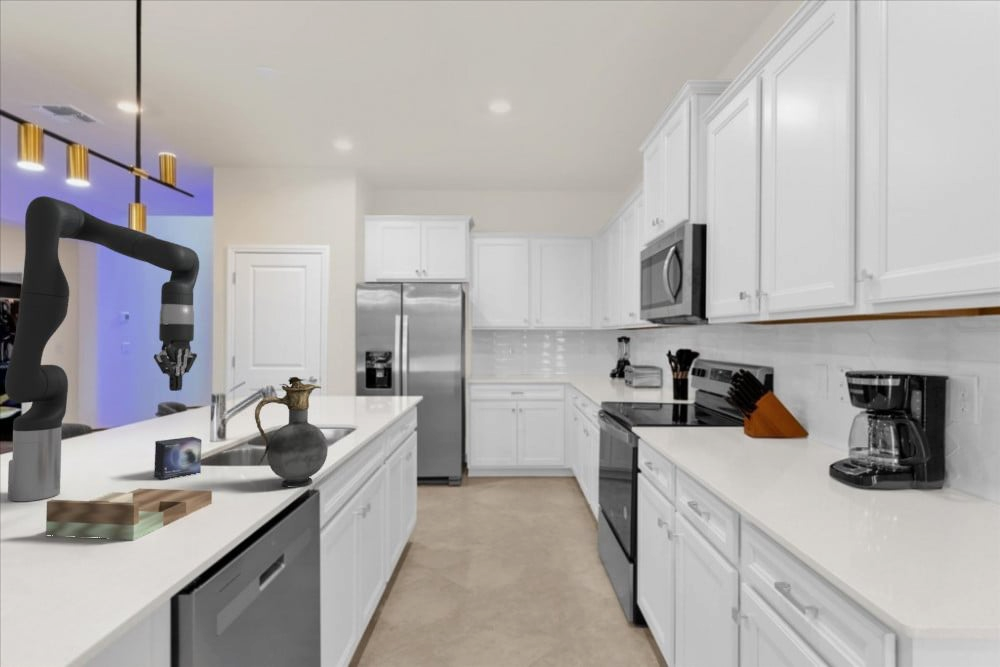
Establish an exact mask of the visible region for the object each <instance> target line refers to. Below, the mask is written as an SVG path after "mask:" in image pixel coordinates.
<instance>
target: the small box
mask: <svg viewBox="0 0 1000 667" xmlns="http://www.w3.org/2000/svg"><path fill="white" fill-rule="evenodd" d="M154 442H155V445H154V446H155V447H154V449H155V450H154V451H155V452H154V473H153V477H154V478H157V479H159V480H161V481H165V480H169V479H170V478H171V479H176V478H175V477H177V478H181V477H180V476H183V477H187V476H186V475H188V476H192V475H191V474H194V475H197V474H196V473H200V474H201V464H202V461H201V460H202V443H203V442H202V439H201V438H198V437H195V436H188V437H187V436H186V437H179V438H171V439H162V440H155V441H154Z"/></svg>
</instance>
